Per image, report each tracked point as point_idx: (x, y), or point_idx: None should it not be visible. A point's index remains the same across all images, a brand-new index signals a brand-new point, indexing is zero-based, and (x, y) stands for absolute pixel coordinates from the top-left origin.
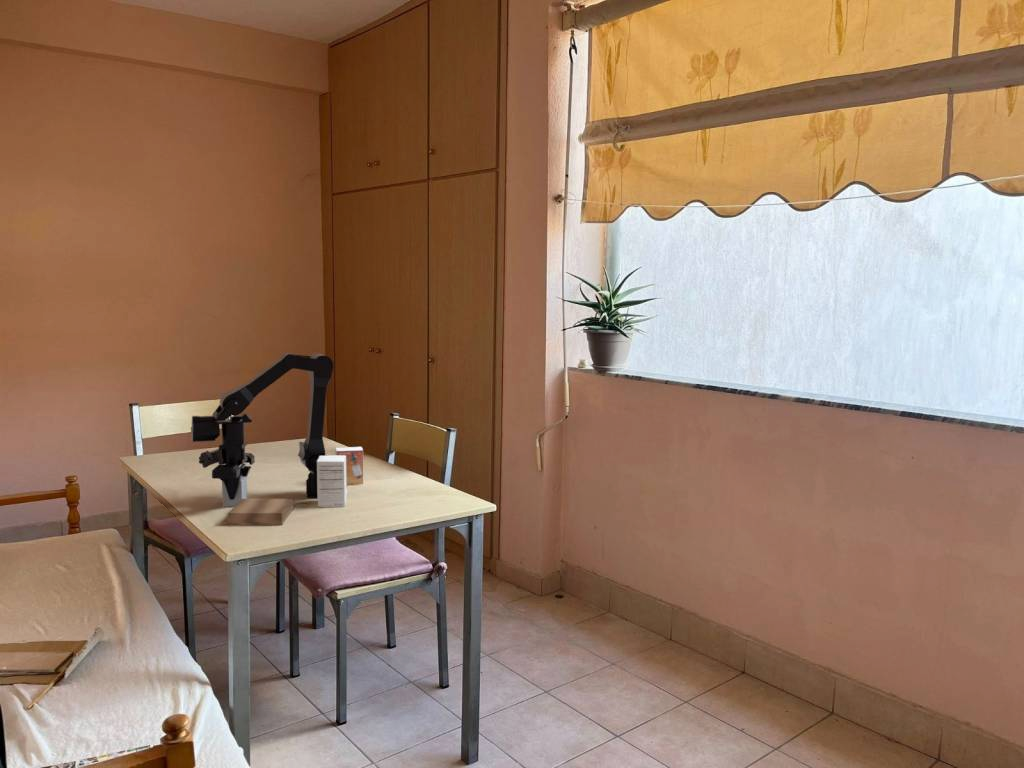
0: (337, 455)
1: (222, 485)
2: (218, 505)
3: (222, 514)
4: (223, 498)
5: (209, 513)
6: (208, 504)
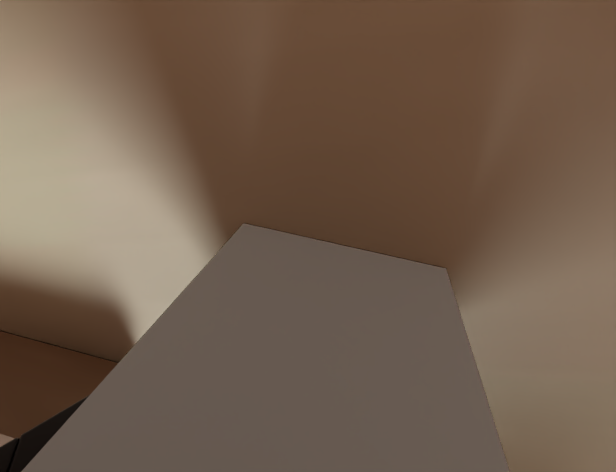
0: None
1: (62, 431)
2: (309, 174)
3: (13, 233)
4: (206, 277)
5: (18, 113)
6: (382, 37)
